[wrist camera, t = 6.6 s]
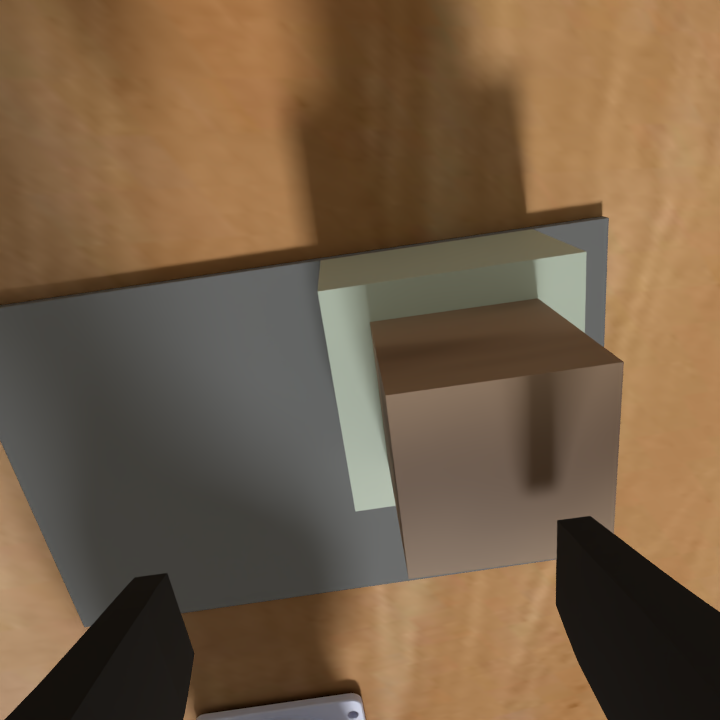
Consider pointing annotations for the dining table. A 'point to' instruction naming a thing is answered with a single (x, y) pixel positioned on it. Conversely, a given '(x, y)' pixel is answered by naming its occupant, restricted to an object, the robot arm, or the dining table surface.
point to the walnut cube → (495, 432)
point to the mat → (203, 435)
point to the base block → (424, 296)
